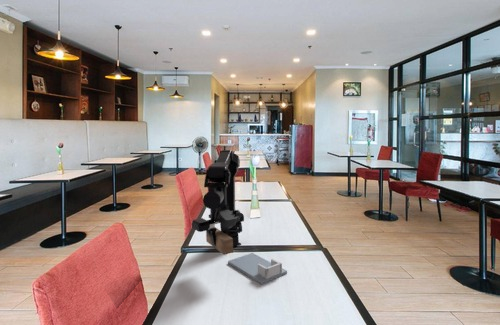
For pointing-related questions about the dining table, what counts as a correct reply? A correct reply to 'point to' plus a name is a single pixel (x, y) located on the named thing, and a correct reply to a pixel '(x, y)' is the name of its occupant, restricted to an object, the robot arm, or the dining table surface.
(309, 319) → the dining table surface
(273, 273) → the bracket
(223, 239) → the brown wooden block
